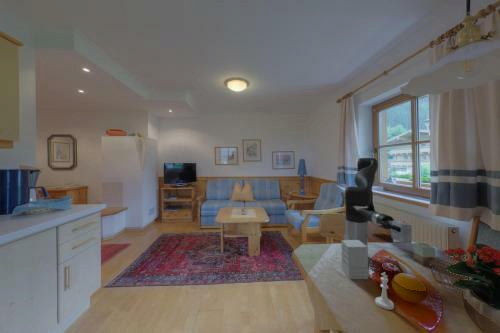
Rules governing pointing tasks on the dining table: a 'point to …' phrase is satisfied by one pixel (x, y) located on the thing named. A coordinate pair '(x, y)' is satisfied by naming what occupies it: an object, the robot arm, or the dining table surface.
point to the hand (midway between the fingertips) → (405, 230)
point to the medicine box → (402, 232)
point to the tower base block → (424, 260)
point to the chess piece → (384, 295)
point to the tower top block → (424, 250)
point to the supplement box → (354, 259)
